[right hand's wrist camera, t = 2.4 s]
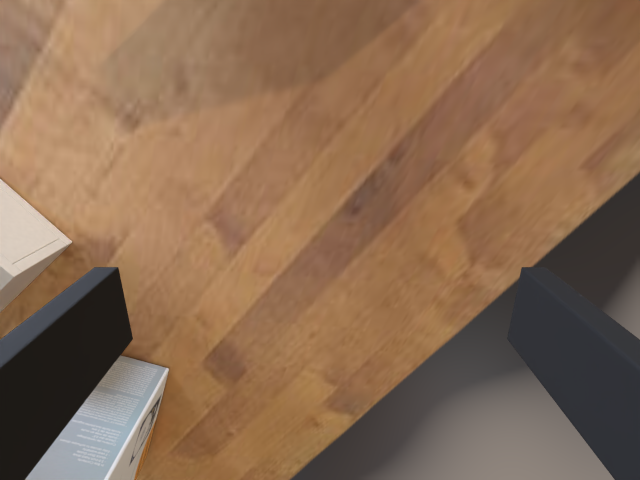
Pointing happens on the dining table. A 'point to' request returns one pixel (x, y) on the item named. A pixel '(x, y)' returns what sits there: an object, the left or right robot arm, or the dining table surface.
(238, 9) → the dining table surface
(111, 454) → the hard drive box
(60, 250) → the cabinet
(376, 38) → the dining table surface
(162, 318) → the dining table surface
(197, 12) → the dining table surface
